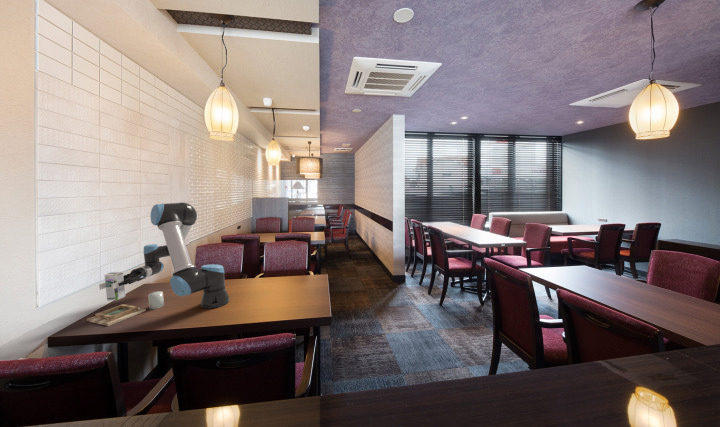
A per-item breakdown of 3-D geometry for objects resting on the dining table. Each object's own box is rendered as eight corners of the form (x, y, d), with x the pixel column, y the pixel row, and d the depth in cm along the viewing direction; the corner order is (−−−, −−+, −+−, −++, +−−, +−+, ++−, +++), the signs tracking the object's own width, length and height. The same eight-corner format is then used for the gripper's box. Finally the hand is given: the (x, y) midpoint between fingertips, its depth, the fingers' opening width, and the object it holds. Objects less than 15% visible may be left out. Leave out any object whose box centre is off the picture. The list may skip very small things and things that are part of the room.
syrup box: (106, 300, 151) (103, 274, 150) (115, 296, 157) (112, 271, 155) (117, 300, 151) (114, 274, 150) (126, 296, 157) (123, 271, 156)
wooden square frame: (146, 311, 159) (145, 305, 158) (108, 326, 142) (107, 320, 141) (125, 307, 165) (124, 301, 164) (87, 321, 148) (86, 315, 148)
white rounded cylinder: (166, 305, 166) (165, 292, 165) (154, 310, 160) (153, 296, 159) (158, 303, 169) (157, 290, 168) (146, 308, 162) (145, 295, 161)
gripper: (156, 279, 171) (124, 293, 148) (126, 279, 172) (89, 294, 148) (155, 267, 171) (122, 279, 147) (125, 267, 171) (87, 280, 148)
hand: (106, 286), depth 148 cm, fingers closed on syrup box, 6 cm apart
